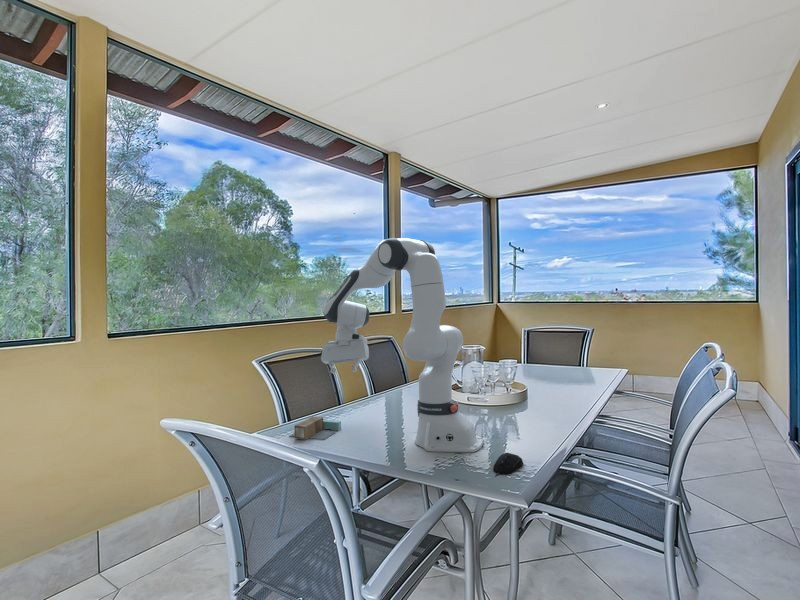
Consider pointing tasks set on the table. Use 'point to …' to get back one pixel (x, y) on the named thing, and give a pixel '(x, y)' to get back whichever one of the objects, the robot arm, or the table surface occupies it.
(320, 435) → the rubber mat
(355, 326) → the robot arm
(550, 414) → the table surface
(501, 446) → the table surface
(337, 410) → the table surface
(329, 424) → the teal rail
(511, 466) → the gaming mouse
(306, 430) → the walnut block
